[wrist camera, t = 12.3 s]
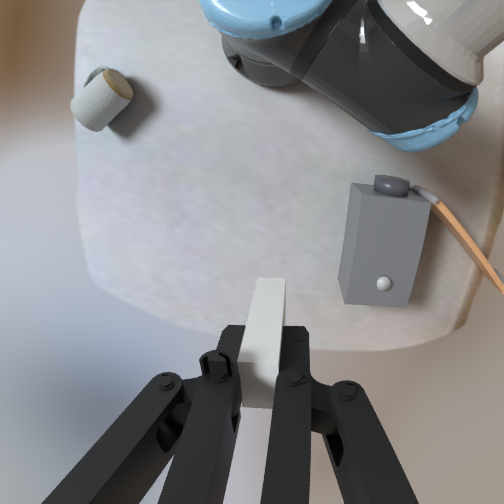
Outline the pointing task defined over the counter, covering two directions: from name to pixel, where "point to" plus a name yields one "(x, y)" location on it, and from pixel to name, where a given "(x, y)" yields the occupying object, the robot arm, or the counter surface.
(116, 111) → the ceramic mug
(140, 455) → the robot arm
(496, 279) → the door
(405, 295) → the camera housing
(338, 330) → the counter surface
